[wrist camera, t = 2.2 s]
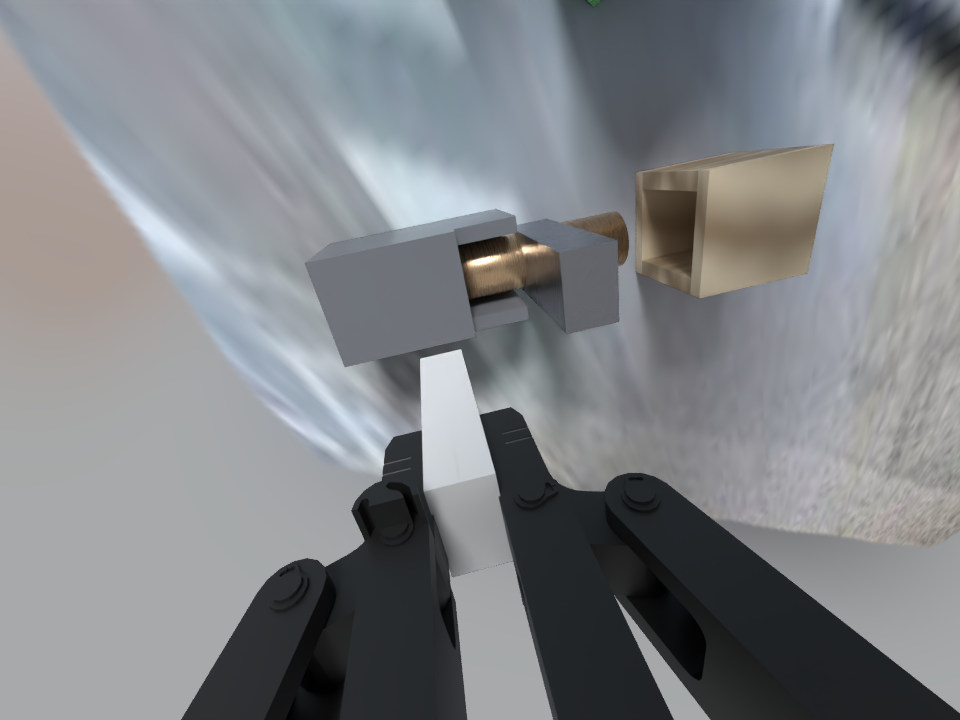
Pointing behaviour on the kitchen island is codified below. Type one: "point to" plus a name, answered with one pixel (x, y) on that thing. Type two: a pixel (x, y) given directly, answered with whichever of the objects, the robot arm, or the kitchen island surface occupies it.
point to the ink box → (593, 2)
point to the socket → (730, 218)
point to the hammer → (554, 267)
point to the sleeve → (408, 288)
